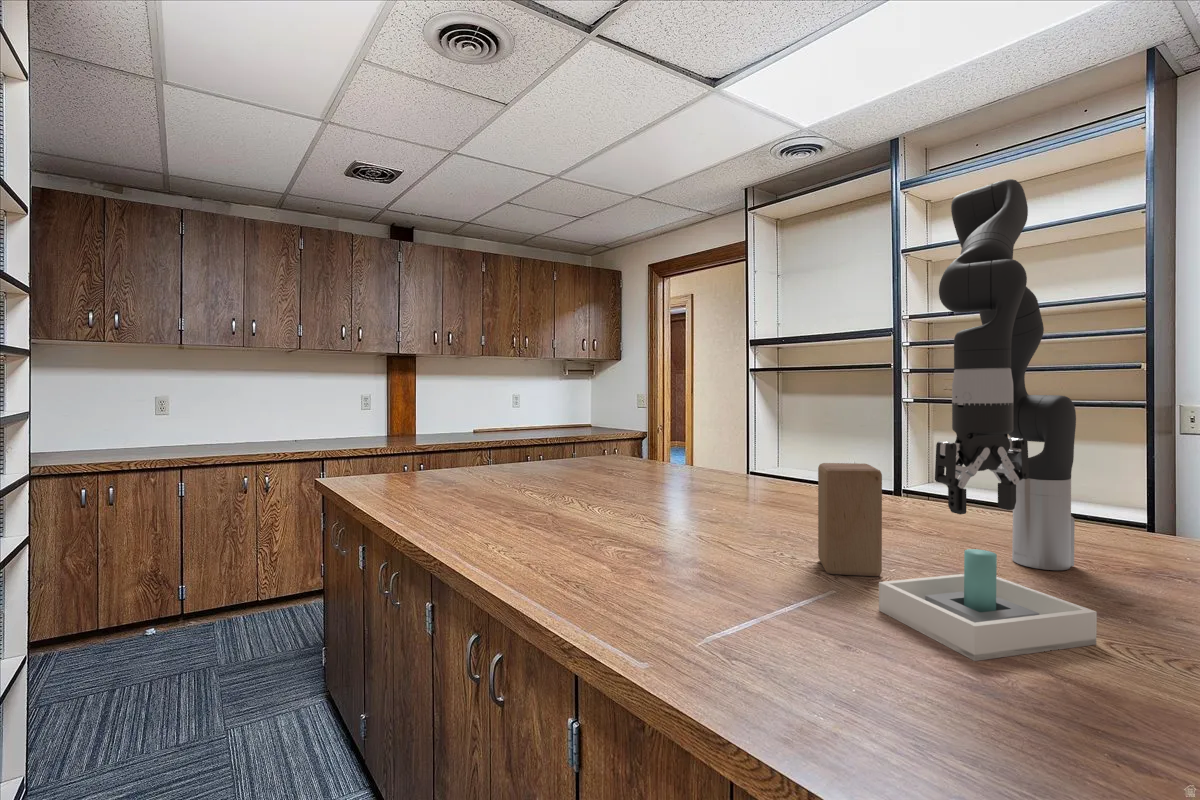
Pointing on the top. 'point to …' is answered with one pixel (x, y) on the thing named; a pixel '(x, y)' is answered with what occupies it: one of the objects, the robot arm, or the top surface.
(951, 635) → the bin
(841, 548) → the wooden block
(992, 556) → the peg
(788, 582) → the top surface
